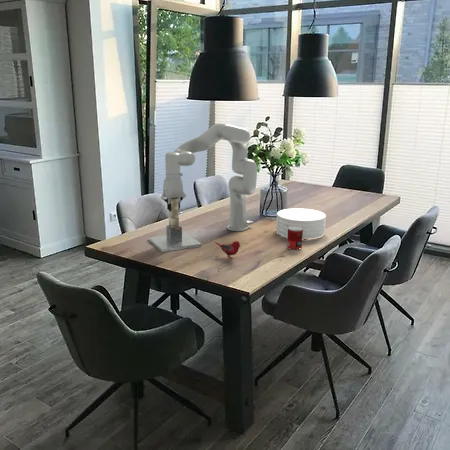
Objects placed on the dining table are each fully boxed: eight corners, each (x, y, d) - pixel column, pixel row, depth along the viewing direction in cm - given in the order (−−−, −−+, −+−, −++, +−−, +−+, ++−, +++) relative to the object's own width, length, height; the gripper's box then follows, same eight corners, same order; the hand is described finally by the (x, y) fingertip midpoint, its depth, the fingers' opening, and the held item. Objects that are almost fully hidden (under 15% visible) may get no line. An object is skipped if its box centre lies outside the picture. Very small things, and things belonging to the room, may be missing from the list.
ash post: (176, 233, 272) (175, 197, 267) (179, 235, 269) (178, 199, 263) (169, 234, 270) (168, 198, 265) (171, 236, 267) (171, 199, 261)
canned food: (298, 251, 260) (299, 231, 257) (284, 248, 264) (285, 228, 261) (304, 247, 267) (305, 227, 263) (290, 244, 271) (291, 225, 267)
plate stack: (330, 230, 297) (332, 211, 294) (315, 243, 273) (316, 223, 270) (286, 224, 310) (287, 206, 306) (268, 235, 286) (269, 216, 283)
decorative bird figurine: (238, 262, 244) (238, 242, 241) (212, 253, 255) (212, 235, 252) (242, 260, 246) (242, 241, 243) (216, 252, 257) (216, 233, 254)
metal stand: (185, 235, 285) (185, 219, 282) (201, 246, 266) (201, 229, 264) (148, 240, 276) (147, 223, 273) (161, 252, 257) (161, 234, 254)
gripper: (185, 173, 267) (185, 207, 273) (155, 176, 260) (156, 210, 265) (190, 176, 261) (191, 210, 266) (160, 178, 254) (161, 213, 259)
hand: (173, 209), depth 266 cm, fingers closed on ash post, 4 cm apart
